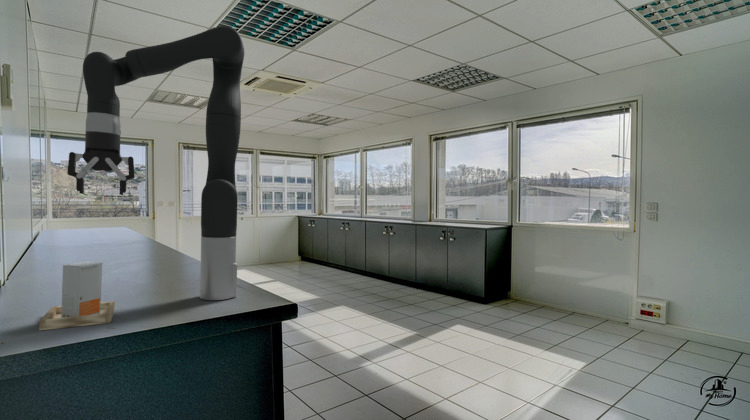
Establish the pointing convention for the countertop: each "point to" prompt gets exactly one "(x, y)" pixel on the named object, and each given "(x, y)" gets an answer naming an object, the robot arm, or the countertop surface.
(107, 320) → the holder
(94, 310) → the skincare box
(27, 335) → the countertop surface
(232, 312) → the countertop surface
